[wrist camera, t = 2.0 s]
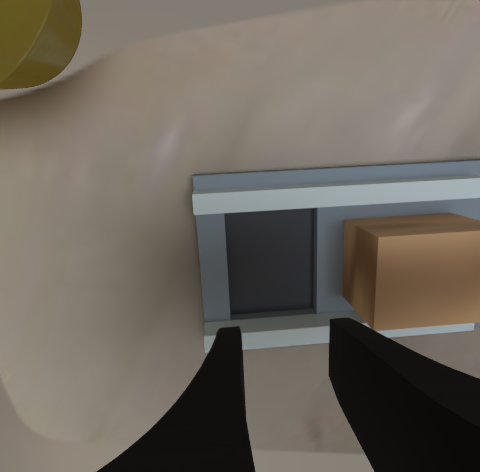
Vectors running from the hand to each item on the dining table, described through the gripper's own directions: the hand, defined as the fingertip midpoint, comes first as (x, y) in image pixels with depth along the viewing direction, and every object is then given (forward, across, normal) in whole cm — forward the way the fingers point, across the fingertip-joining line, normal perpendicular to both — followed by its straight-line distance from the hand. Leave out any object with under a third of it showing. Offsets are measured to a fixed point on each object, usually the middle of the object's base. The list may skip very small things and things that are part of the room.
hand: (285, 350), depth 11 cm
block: (+8, -8, 0) cm, 12 cm away
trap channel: (+9, -10, 0) cm, 13 cm away
